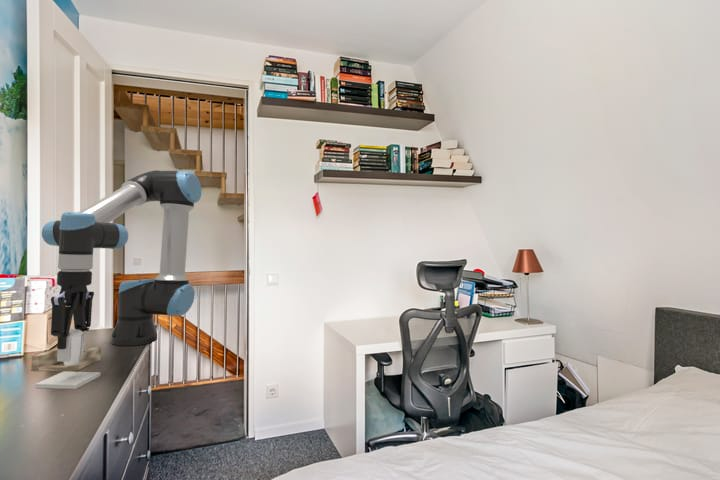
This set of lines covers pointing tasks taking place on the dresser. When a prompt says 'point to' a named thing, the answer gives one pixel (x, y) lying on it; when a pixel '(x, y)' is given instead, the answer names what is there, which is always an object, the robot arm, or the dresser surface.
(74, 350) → the milkshake
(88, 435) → the dresser surface
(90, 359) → the pocket holder
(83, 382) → the pad
